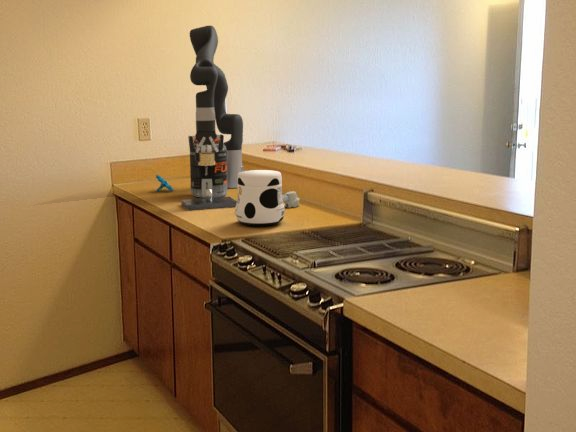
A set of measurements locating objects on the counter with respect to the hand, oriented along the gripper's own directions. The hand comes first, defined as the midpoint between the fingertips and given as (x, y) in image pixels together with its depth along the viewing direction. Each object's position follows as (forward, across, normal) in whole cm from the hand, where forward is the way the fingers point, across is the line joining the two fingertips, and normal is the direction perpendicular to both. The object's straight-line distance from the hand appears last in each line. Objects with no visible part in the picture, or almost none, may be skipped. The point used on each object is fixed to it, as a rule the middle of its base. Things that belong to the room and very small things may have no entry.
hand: (206, 161), depth 279 cm
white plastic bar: (+18, -21, +15) cm, 32 cm away
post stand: (+18, 0, 0) cm, 18 cm away
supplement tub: (+18, -6, -22) cm, 29 cm away
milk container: (+18, -10, +38) cm, 43 cm away
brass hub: (+1, 0, 0) cm, 1 cm away
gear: (+18, +10, -40) cm, 45 cm away
